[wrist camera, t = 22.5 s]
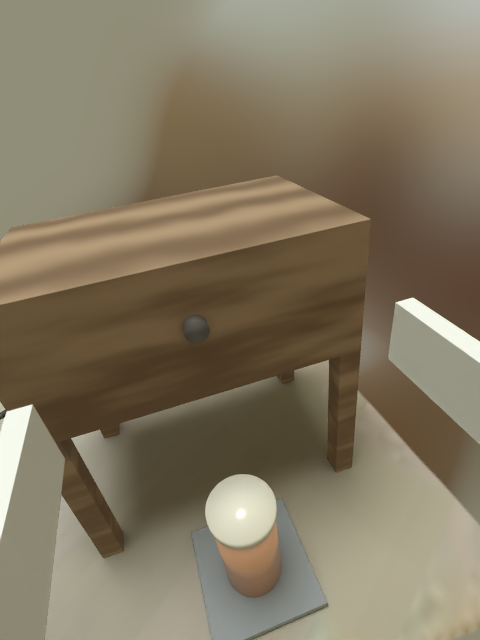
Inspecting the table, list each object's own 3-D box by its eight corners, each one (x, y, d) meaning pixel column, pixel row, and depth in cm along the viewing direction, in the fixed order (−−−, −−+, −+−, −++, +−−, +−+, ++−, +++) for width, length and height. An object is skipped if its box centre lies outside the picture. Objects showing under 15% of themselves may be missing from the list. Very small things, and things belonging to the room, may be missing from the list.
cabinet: (356, 473, 42) (378, 222, 26) (103, 567, 37) (-61, 325, 21) (288, 371, 57) (276, 175, 41) (104, 427, 52) (10, 227, 36)
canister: (267, 613, 31) (255, 558, 26) (212, 579, 34) (191, 523, 28) (293, 550, 35) (287, 490, 30) (242, 523, 38) (228, 464, 32)
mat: (327, 605, 32) (327, 602, 32) (215, 655, 30) (214, 652, 30) (282, 501, 40) (281, 498, 40) (192, 535, 38) (191, 532, 38)
